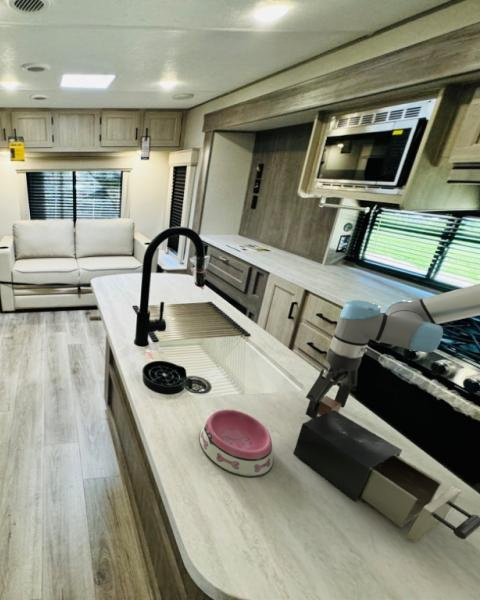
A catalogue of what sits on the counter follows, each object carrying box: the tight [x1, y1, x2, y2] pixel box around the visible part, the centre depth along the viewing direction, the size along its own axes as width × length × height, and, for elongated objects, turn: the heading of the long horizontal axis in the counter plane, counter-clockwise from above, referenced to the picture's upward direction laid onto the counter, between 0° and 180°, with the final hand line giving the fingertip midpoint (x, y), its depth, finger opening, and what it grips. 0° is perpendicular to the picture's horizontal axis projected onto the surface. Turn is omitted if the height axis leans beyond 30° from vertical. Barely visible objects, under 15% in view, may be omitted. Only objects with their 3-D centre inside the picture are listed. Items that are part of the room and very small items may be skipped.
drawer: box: [359, 455, 480, 543], centre depth 67 cm, size 18×11×9 cm, turn 22°
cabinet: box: [293, 410, 403, 503], centre depth 78 cm, size 15×13×11 cm
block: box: [318, 395, 341, 416], centre depth 97 cm, size 4×4×4 cm
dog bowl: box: [198, 409, 274, 478], centre depth 85 cm, size 18×19×7 cm
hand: (325, 410), depth 98 cm, fingers open, 13 cm apart
